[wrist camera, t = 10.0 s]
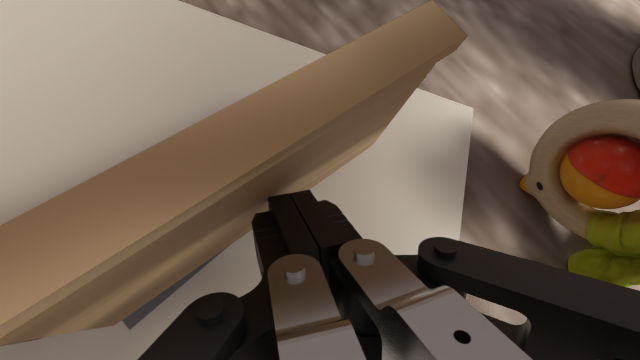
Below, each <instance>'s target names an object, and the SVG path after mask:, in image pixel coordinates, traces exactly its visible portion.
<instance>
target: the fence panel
mask: <svg viewBox="0 0 640 360" xmlns="http://www.w3.org/2000/svg"><path fill="white" fill-rule="evenodd" d="M467 36H468V35H467V34H466V33H465V32H464V31H463V30H462V29H461V28H460V27H459V26H458V25H457V24H456V23H455V22H454V21H453V19H452V18H451V17H450V16H449V15H448V14H447V13H446V12H445V11H444V10H443V9H442V8H441V7H440V6H439V5H438V4H437V3H436V2H435V1H434V0H430V1H428V2H427V3H425V4H423V5H421V6H419V7H417V8H415V9H413V10H411V11H409V12H407V13H405V14H404V15H402V16H400V17H398V18H396V19H394V20H392V21H390V22H388V23H386V24H384V25H383V26H381V27H379V28H377V29H375V30H373V31H371V32H369V33H367V34H365V35H363V36H362V37H360V38H358V39H356V40H354V41H352V42H350V43H348V44H346V45H344V46H342V47H341V48H339V49H337V50H335V51H333V52H331V53H329V54H327V55H325V56H323V57H321V58H319V59H318V60H316V61H314V62H312V63H310V64H308V65H306V66H304V67H302V68H300V69H298V70H297V71H295V72H293V73H291V74H289V75H287V76H285V77H283V78H281V79H279V80H277V81H276V82H274V83H272V84H270V85H268V86H266V87H264V88H262V89H260V90H258V91H256V92H254V93H253V94H251V95H249V96H247V97H245V98H243V99H241V100H239V101H237V102H235V103H233V104H232V105H230V106H228V107H226V108H224V109H222V110H220V111H218V112H216V113H214V114H212V115H211V116H209V117H207V118H205V119H203V120H201V121H199V122H197V123H195V124H193V125H191V126H189V127H188V128H186V129H184V130H182V131H180V132H178V133H176V134H174V135H172V136H170V137H168V138H167V139H165V140H163V141H161V142H159V143H157V144H155V145H153V146H151V147H149V148H147V149H146V150H144V151H142V152H140V153H138V154H136V155H134V156H132V157H130V158H128V159H126V160H125V161H123V162H121V163H119V164H117V165H115V166H113V167H111V168H109V169H107V170H105V171H103V172H102V173H100V174H98V175H96V176H94V177H92V178H90V179H88V180H86V181H84V182H82V183H81V184H79V185H77V186H75V187H73V188H71V189H69V190H67V191H65V192H63V193H61V194H60V195H58V196H56V197H54V198H52V199H50V200H48V201H46V202H44V203H42V204H40V205H38V206H37V207H35V208H33V209H31V210H29V211H27V212H25V213H23V214H21V215H19V216H17V217H16V218H14V219H12V220H10V221H8V222H6V223H4V224H2V225H0V345H2V344H8V343H14V342H20V341H26V340H32V339H38V338H44V337H50V336H55V335H61V334H67V333H73V332H79V331H85V330H91V329H97V328H102V327H108V326H114V325H116V324H117V323H119V322H120V321H122V320H123V319H125V318H126V317H127V316H129V315H130V314H132V313H133V312H135V311H136V310H137V309H139V308H140V307H142V306H143V305H145V304H146V303H147V302H149V301H150V300H152V299H153V298H155V297H156V296H157V295H159V294H160V293H162V292H163V291H165V290H166V289H168V288H169V287H170V286H172V285H173V284H175V283H176V282H178V281H179V280H180V279H182V278H183V277H185V276H186V275H188V274H189V273H190V272H192V271H193V270H195V269H196V268H198V267H199V266H200V265H202V264H203V263H205V262H206V261H208V260H209V259H211V258H212V257H213V256H215V255H216V254H218V253H219V252H221V251H222V250H223V249H225V248H226V247H228V246H229V245H231V244H232V243H233V242H235V241H236V240H238V239H239V238H241V237H242V236H244V235H245V234H246V233H248V232H249V231H251V230H252V223H251V222H252V220H253V218H254V216H255V214H256V213H260V212H265V211H269V209H268V197H270V196H276V195H281V194H287V193H288V194H289V193H292V192H298V191H303V190H309V189H311V188H312V187H314V186H315V185H317V184H318V183H319V182H321V181H322V180H324V179H325V178H327V177H328V176H330V175H331V174H332V173H334V172H335V171H337V170H338V169H340V168H341V167H342V166H344V165H345V164H347V163H348V162H350V161H351V160H352V159H354V158H355V157H357V156H358V155H360V154H361V153H363V152H364V151H365V150H367V149H368V148H370V147H371V146H373V144H374V143H375V142H376V140H377V139H378V138H379V136H380V135H381V134H382V133H383V131H384V130H385V129H386V127H387V126H388V125H389V123H390V122H391V121H392V120H393V118H394V117H395V116H396V114H397V113H398V112H399V110H400V109H401V108H402V107H403V105H404V104H405V103H406V101H407V100H408V99H409V97H410V96H411V95H412V94H413V92H414V91H415V90H416V88H417V87H418V86H419V84H420V83H421V82H422V81H423V79H424V78H425V77H426V75H427V74H428V73H429V71H430V70H431V69H432V68H433V66H434V65H435V64H436V62H438V61H440V60H441V59H443V58H444V57H446V56H448V55H449V54H451V53H452V52H454V51H455V50H456V49H457V48H458V47H459V46H460V45H461V43H462V42H463V41H464V40H465V38H466V37H467Z"/></svg>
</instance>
